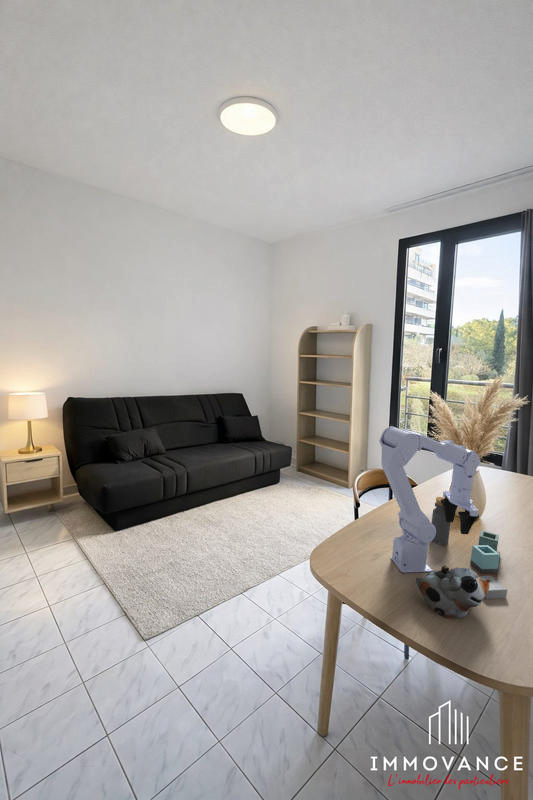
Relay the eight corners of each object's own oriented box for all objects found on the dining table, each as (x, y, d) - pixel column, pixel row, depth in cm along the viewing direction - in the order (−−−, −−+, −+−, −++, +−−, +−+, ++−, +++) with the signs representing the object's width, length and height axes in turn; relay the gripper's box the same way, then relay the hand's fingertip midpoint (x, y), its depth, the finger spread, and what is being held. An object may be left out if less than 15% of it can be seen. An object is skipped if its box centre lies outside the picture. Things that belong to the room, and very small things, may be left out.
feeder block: (485, 598, 98) (486, 590, 97) (470, 584, 103) (471, 576, 103) (506, 598, 98) (507, 589, 98) (490, 583, 104) (491, 575, 104)
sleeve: (481, 573, 106) (483, 554, 105) (470, 563, 111) (472, 545, 110) (497, 573, 107) (499, 554, 106) (485, 563, 112) (487, 545, 111)
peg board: (495, 583, 104) (498, 559, 103) (467, 574, 108) (470, 550, 107) (499, 556, 119) (502, 534, 118) (475, 548, 123) (478, 528, 122)
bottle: (429, 541, 126) (433, 500, 124) (430, 534, 132) (434, 494, 129) (447, 546, 124) (452, 504, 122) (448, 538, 129) (453, 498, 127)
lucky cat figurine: (444, 582, 104) (477, 551, 98) (473, 626, 94) (510, 594, 88) (406, 577, 98) (438, 544, 93) (431, 623, 88) (469, 589, 83)
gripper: (490, 495, 107) (484, 539, 108) (458, 478, 121) (454, 516, 123) (467, 495, 106) (462, 539, 108) (438, 478, 120) (434, 517, 122)
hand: (456, 527), depth 115 cm, fingers open, 7 cm apart
